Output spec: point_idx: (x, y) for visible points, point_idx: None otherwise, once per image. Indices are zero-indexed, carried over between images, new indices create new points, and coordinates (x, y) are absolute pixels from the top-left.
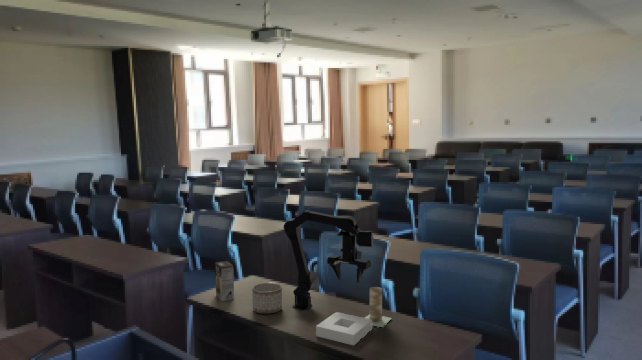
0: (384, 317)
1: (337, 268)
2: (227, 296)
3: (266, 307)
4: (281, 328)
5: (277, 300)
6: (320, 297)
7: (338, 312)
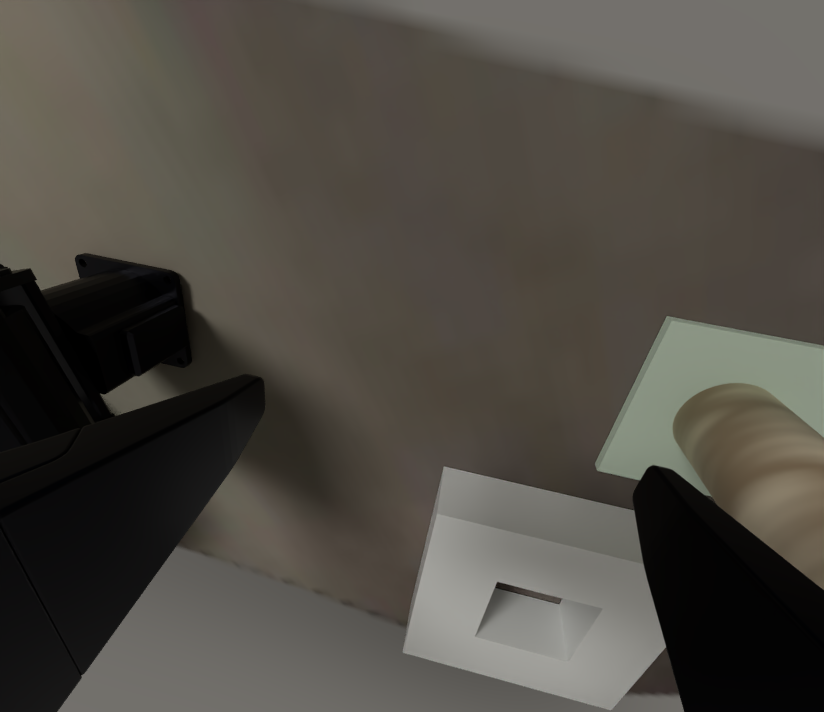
0: (814, 367)
1: (45, 656)
2: None
3: None
4: (243, 561)
5: None
6: (110, 48)
7: (453, 518)
